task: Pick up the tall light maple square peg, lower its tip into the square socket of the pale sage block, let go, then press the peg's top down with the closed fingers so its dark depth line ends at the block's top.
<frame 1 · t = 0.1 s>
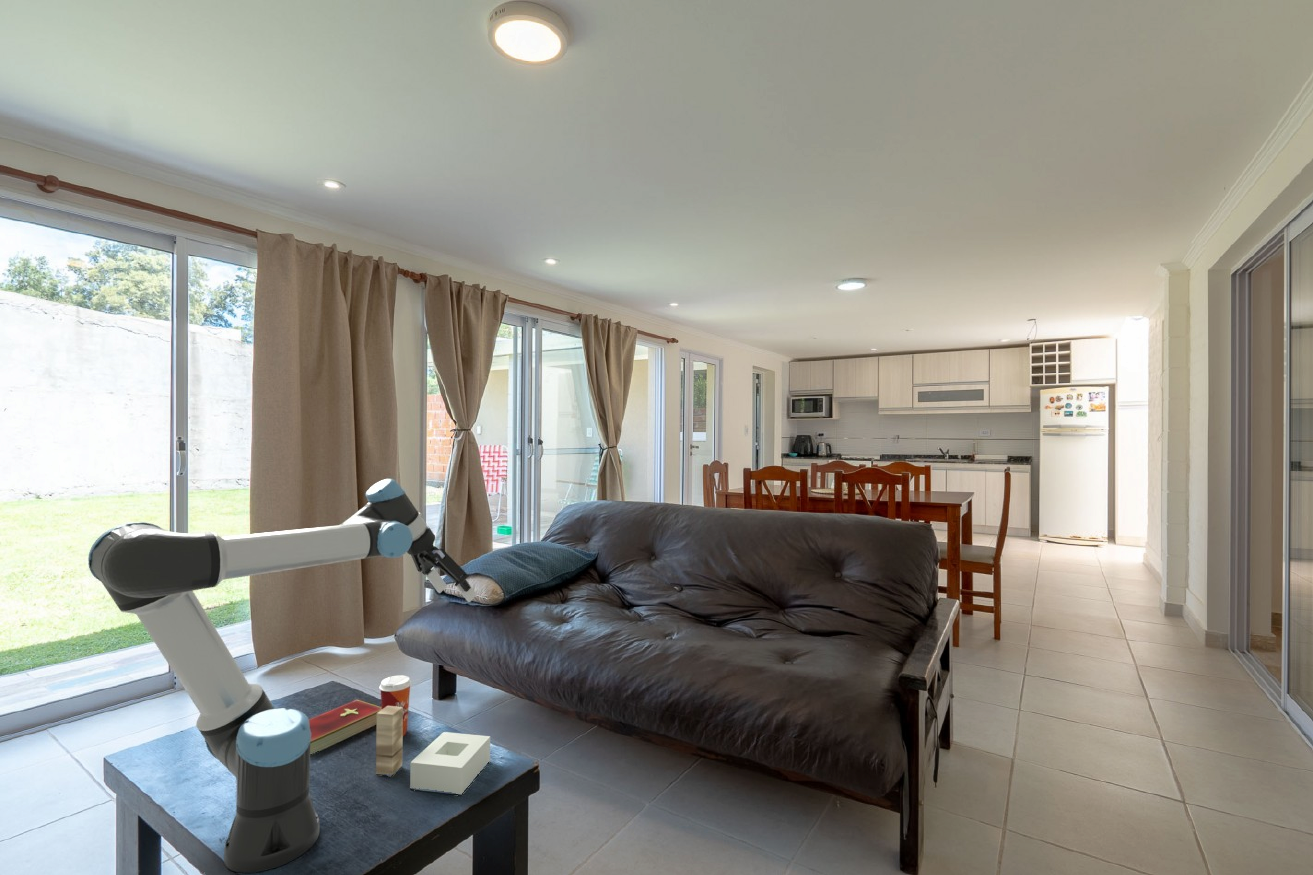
hand: (457, 593, 159), 36 cm above the table, tool tilted 35°, fingers open, 13 cm apart
maple peg: (389, 770, 139), on the table
hardcover book: (334, 734, 157), on the table
paper cup: (395, 734, 156), on the table
socket block: (451, 775, 137), on the table
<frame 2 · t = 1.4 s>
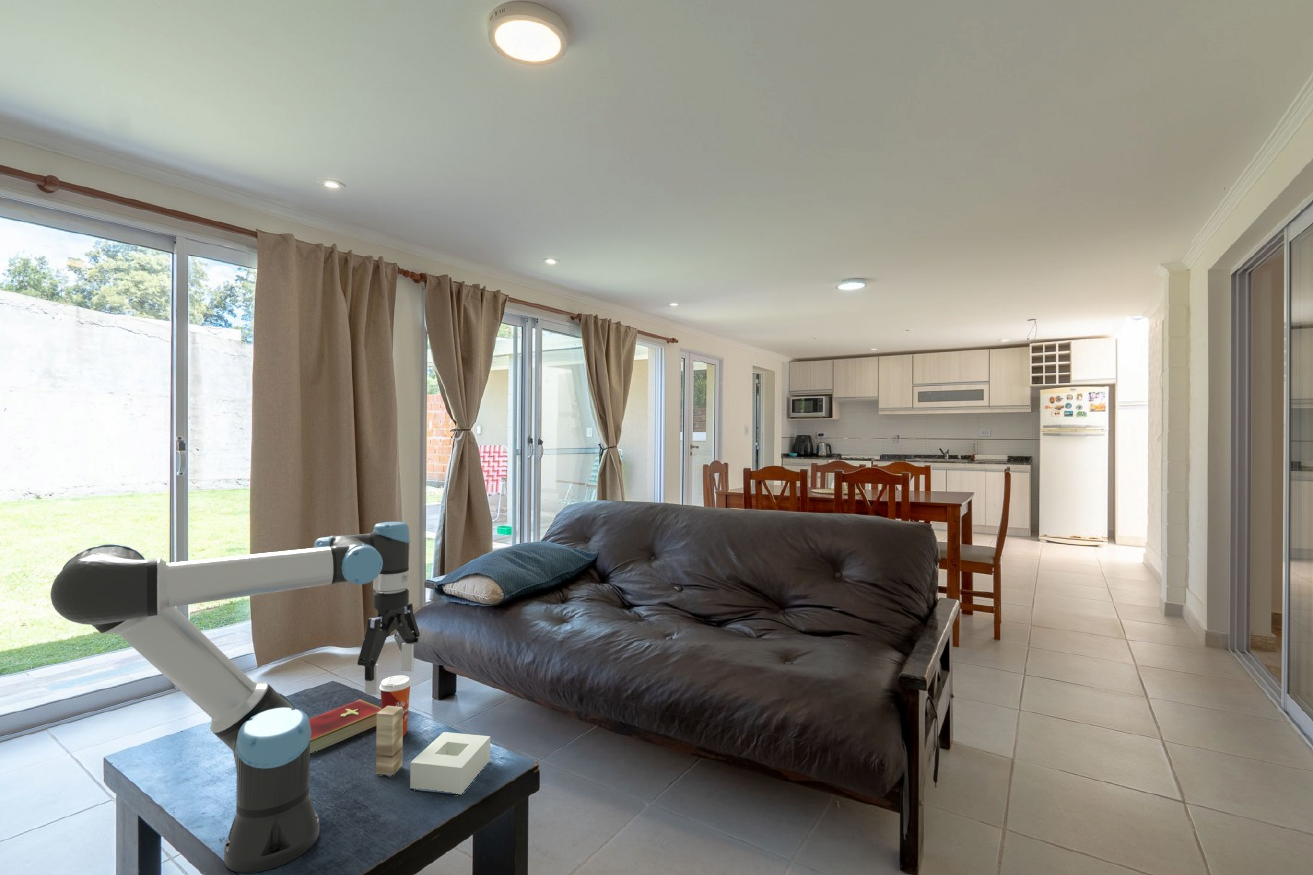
hand: (390, 681, 139), 20 cm above the table, tool pointing down, fingers open, 13 cm apart
nothing on the table moved.
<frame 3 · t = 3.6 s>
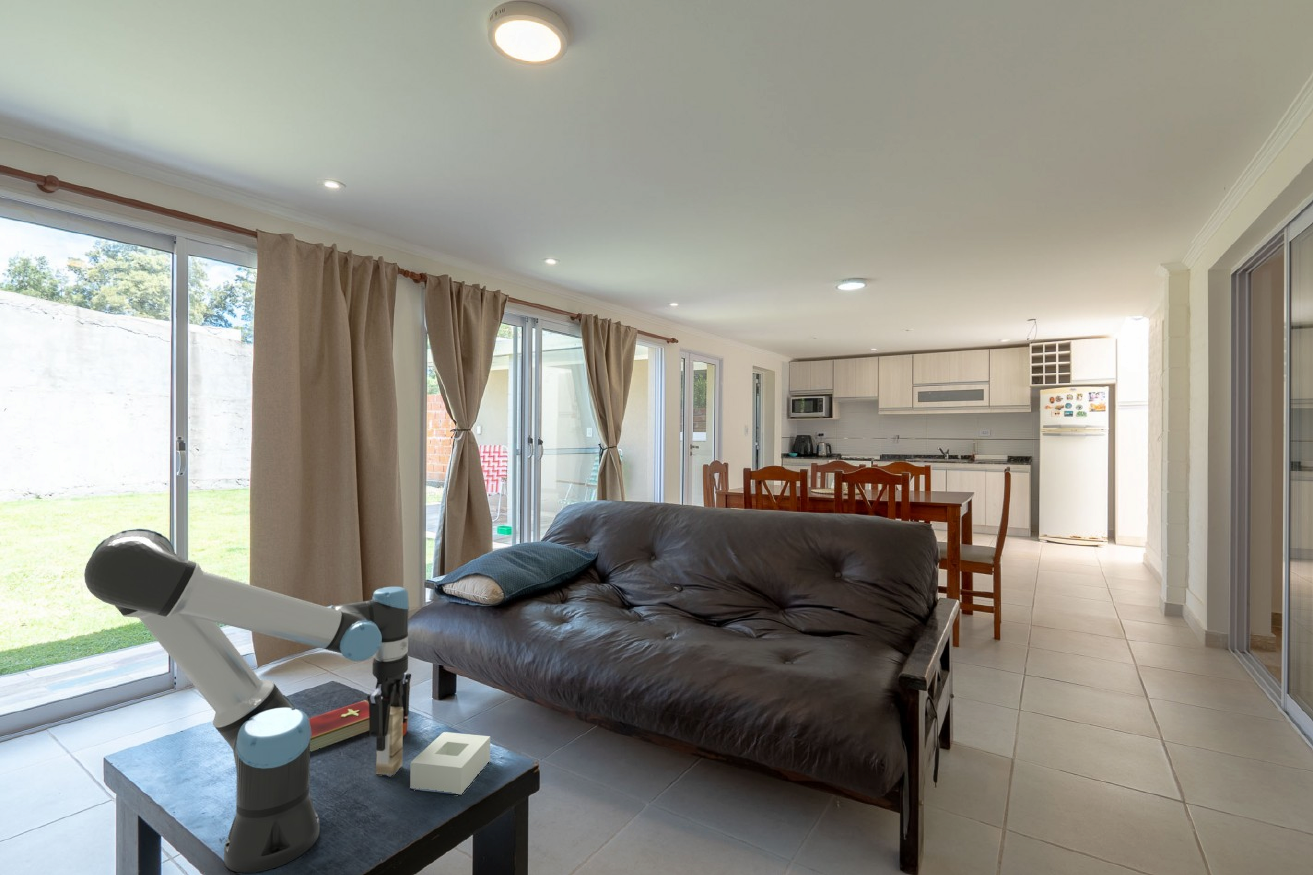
hand: (389, 757, 139), 3 cm above the table, tool pointing down, fingers closed on maple peg, 4 cm apart
maple peg: (389, 770, 139), on the table, touching gripper
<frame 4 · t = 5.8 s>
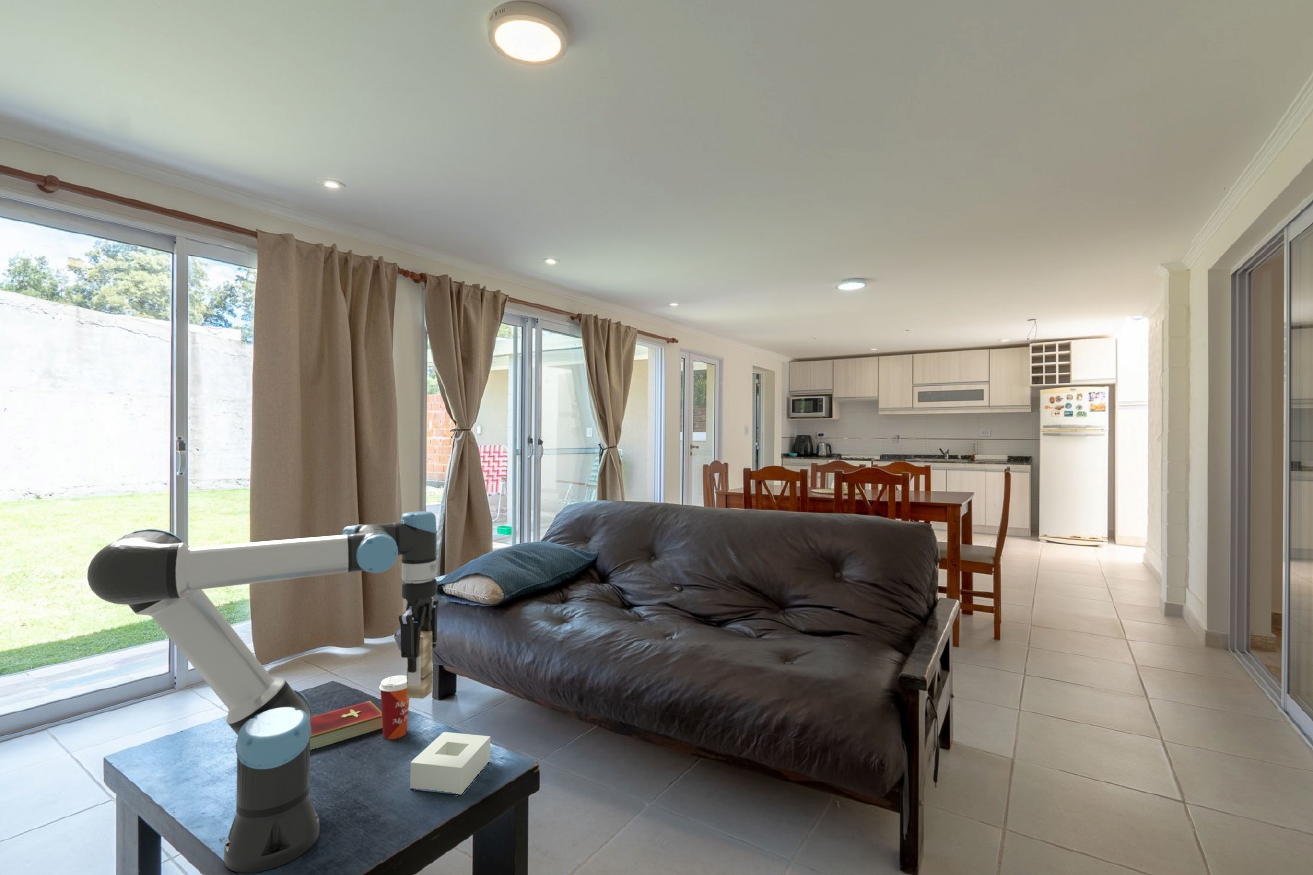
hand: (419, 680, 139), 21 cm above the table, tool pointing down, fingers closed on maple peg, 4 cm apart
maple peg: (419, 694, 139), point 18 cm above the table, touching gripper
when the fingers open (8 cm above the table, at t = 8.3 s): maple peg drops 3 cm, resting on socket block.
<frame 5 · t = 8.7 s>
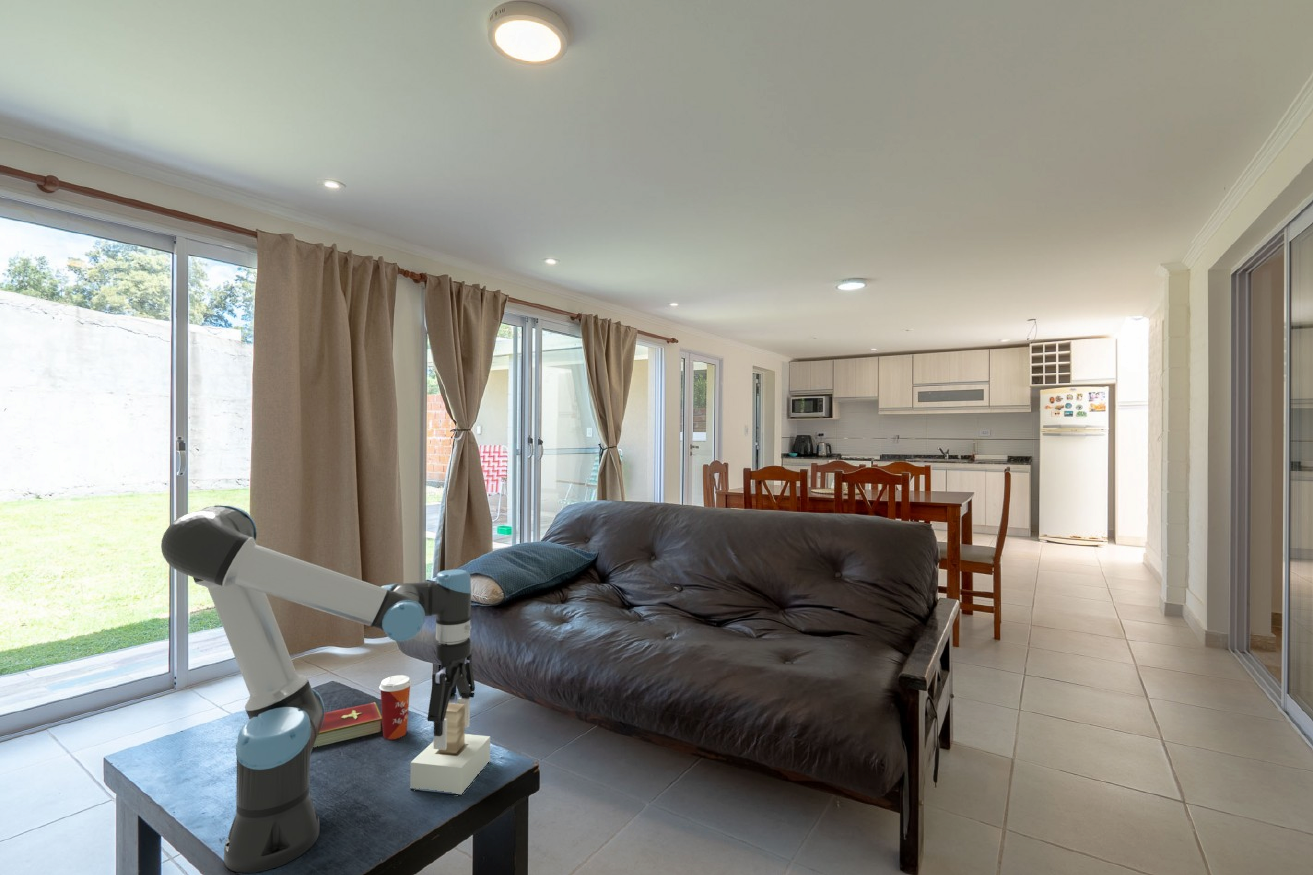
hand: (452, 736, 137), 9 cm above the table, tool pointing down, fingers open, 10 cm apart
maple peg: (451, 768, 137), point 1 cm above the table, touching socket block
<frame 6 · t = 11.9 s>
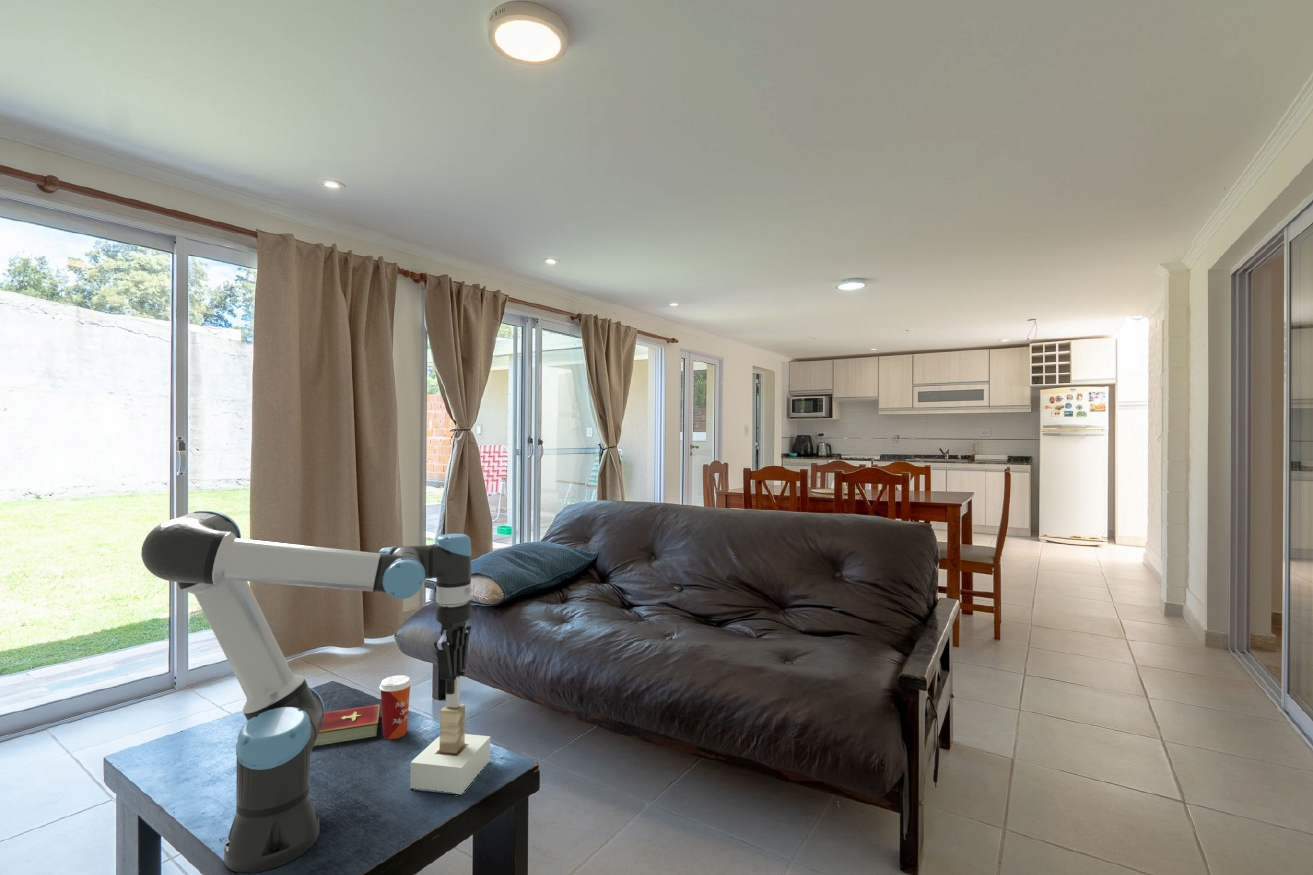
hand: (452, 705, 138), 16 cm above the table, tool pointing down, fingers closed
maple peg: (451, 768, 137), point 1 cm above the table, touching gripper, socket block
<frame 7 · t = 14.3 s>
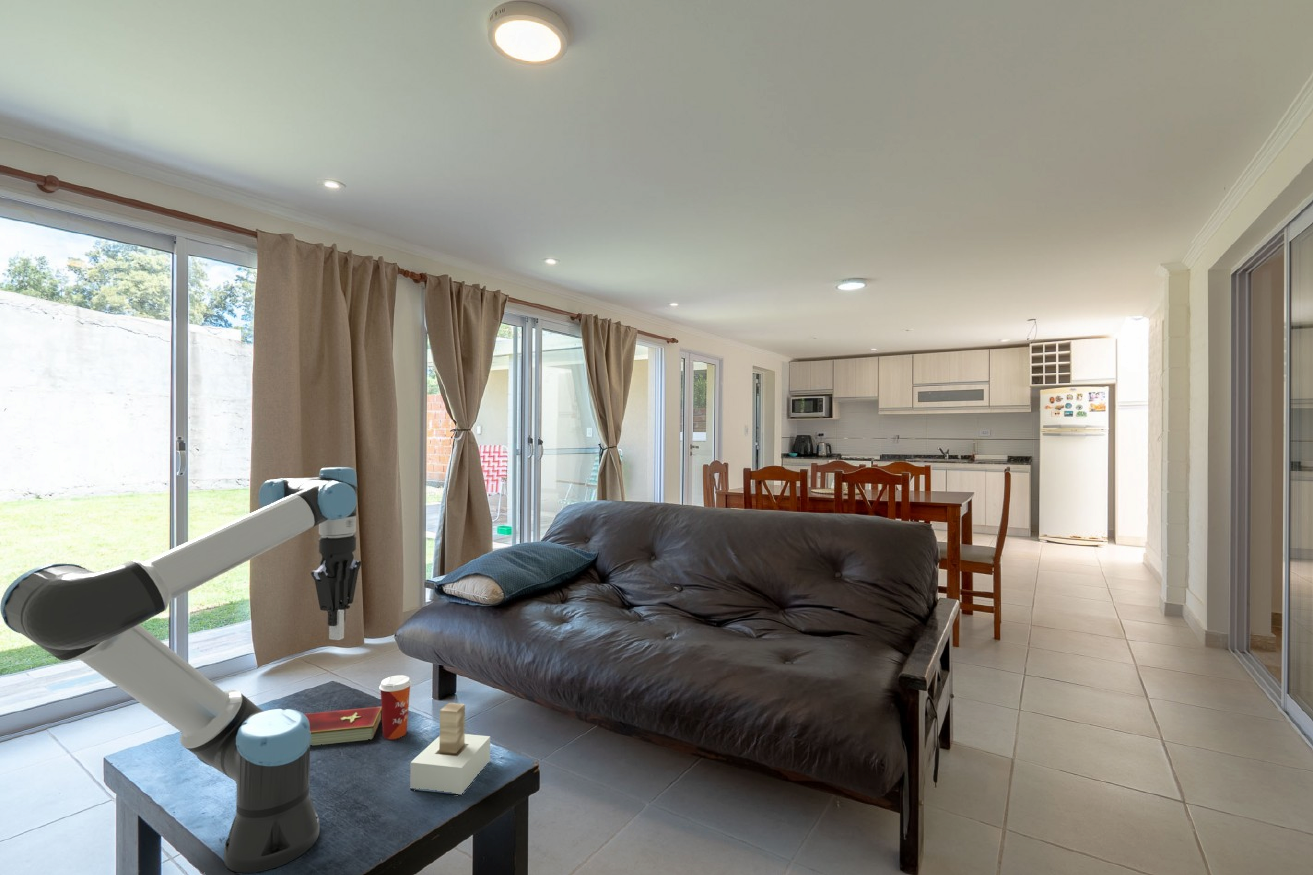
hand: (336, 638, 137), 31 cm above the table, tool pointing down, fingers closed
maple peg: (451, 768, 137), point 1 cm above the table, touching socket block
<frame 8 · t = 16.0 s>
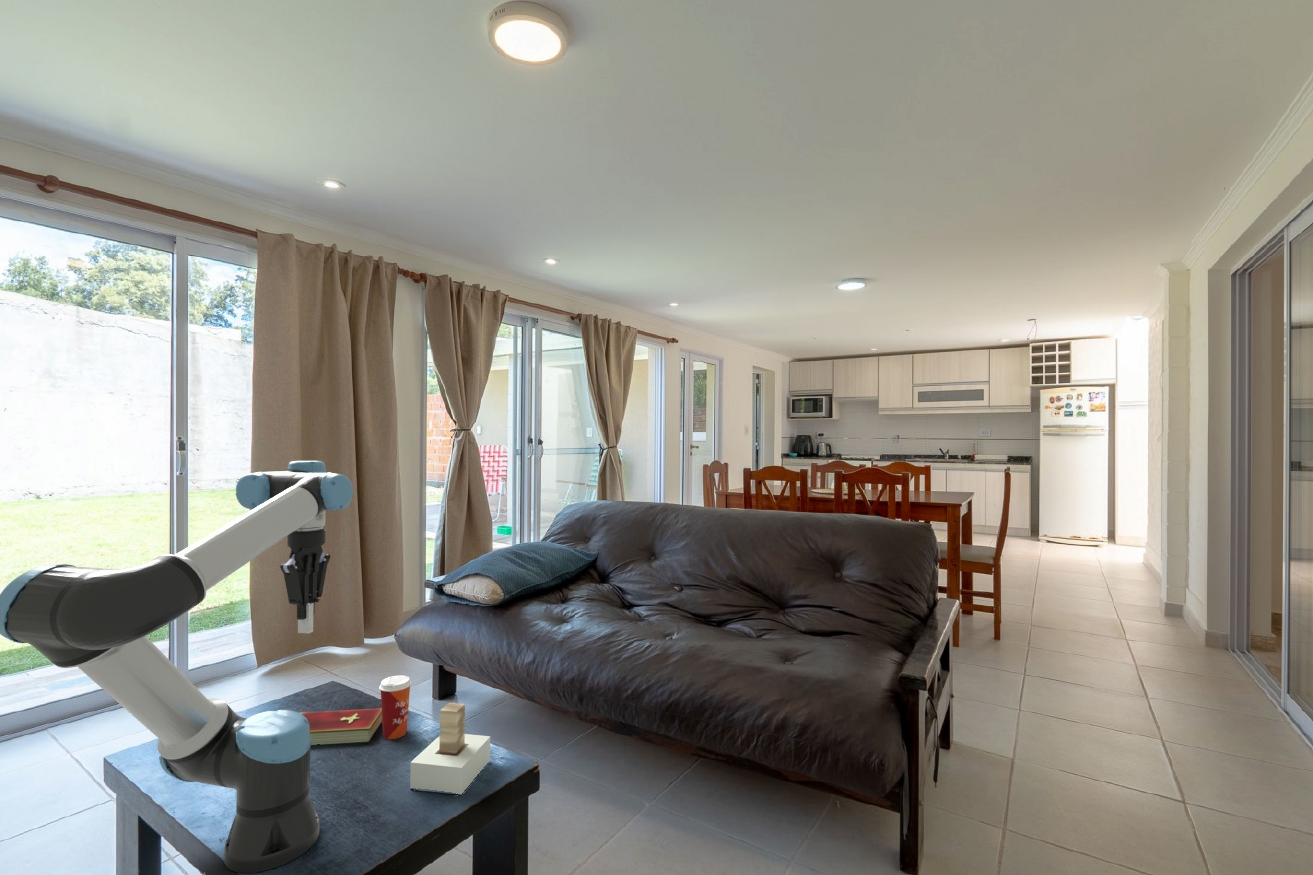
hand: (305, 632, 137), 32 cm above the table, tool pointing down, fingers closed
at the end: maple peg 0.0 cm off-centre on the socket block, point 1.5 cm above the socket block's base; maple peg tilted 0°; the gripper is holding nothing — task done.
